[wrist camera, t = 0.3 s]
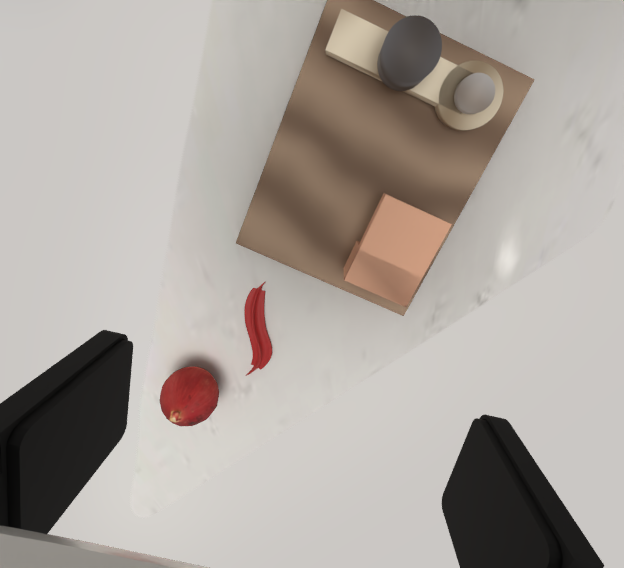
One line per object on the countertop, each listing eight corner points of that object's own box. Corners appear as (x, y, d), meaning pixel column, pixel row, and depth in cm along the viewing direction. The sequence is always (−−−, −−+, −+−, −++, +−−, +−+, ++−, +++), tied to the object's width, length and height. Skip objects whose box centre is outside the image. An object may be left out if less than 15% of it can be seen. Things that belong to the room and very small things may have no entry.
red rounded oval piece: (236, 387, 44) (216, 434, 37) (194, 406, 45) (166, 455, 38) (209, 345, 43) (181, 385, 35) (166, 366, 44) (131, 409, 36)
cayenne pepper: (261, 381, 44) (258, 391, 43) (223, 367, 44) (218, 376, 42) (297, 288, 41) (296, 294, 39) (256, 273, 41) (252, 278, 39)
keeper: (380, 190, 35) (385, 194, 32) (439, 217, 36) (452, 224, 32) (343, 268, 38) (344, 280, 34) (399, 292, 38) (406, 307, 34)
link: (507, 80, 32) (541, 65, 27) (475, 140, 33) (501, 137, 28) (346, 1, 31) (348, -31, 26) (320, 67, 32) (318, 49, 27)
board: (334, -11, 32) (334, -38, 28) (526, 83, 33) (554, 71, 29) (239, 240, 39) (227, 250, 35) (401, 310, 40) (408, 328, 36)
